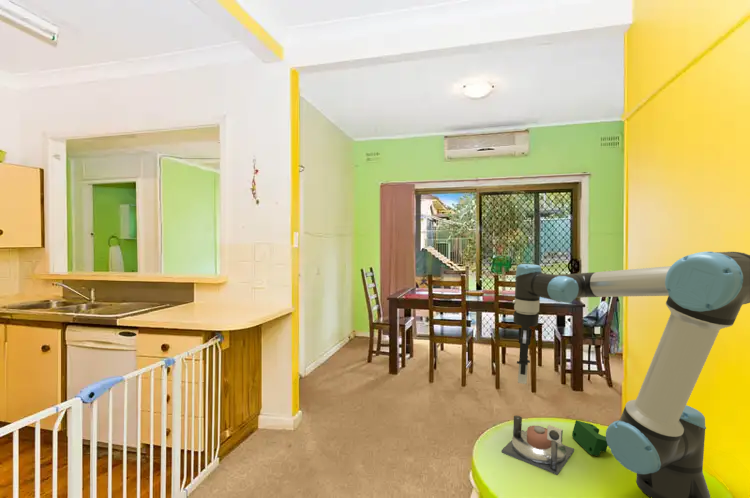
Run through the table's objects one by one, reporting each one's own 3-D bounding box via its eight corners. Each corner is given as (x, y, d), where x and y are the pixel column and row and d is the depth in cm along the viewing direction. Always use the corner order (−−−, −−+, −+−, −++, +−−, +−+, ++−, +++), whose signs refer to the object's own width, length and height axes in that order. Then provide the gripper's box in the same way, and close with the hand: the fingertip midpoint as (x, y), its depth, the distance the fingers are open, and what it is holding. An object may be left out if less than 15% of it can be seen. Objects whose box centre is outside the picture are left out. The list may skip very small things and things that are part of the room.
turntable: (571, 448, 119) (572, 424, 118) (556, 470, 107) (557, 443, 107) (522, 430, 129) (523, 408, 128) (503, 449, 118) (504, 424, 117)
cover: (554, 442, 119) (555, 428, 119) (547, 451, 114) (547, 436, 113) (531, 434, 124) (532, 420, 123) (523, 442, 118) (523, 428, 118)
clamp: (603, 467, 118) (619, 448, 114) (585, 463, 117) (600, 443, 114) (586, 433, 129) (599, 415, 125) (569, 429, 128) (582, 410, 124)
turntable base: (575, 451, 118) (576, 412, 118) (558, 475, 107) (560, 432, 106) (521, 432, 129) (523, 396, 129) (501, 452, 117) (502, 413, 117)
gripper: (515, 306, 133) (511, 373, 135) (512, 314, 121) (508, 388, 123) (538, 309, 130) (534, 377, 132) (538, 317, 118) (534, 392, 120)
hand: (522, 382), depth 127 cm, fingers closed
